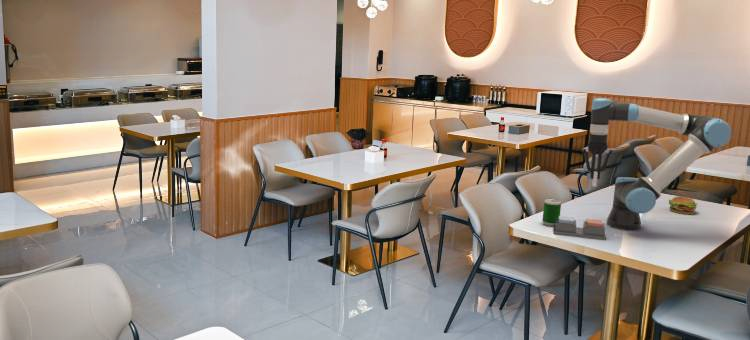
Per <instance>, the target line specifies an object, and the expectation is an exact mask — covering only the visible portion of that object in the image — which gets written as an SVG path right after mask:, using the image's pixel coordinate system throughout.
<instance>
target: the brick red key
mask: <svg viewBox="0 0 750 340" xmlns="http://www.w3.org/2000/svg"><path fill="white" fill-rule="evenodd" d="M585 221H586V226H594V227H603V220H600V219H594V218H593V219H591V218H586V220H585Z"/></svg>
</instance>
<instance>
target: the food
mask: <svg viewBox="0 0 750 340" xmlns="http://www.w3.org/2000/svg"><path fill="white" fill-rule="evenodd" d="M668 204H669V210H670V212H673V213H675V212H676V214H680V213H682V215H693V214H695V212H696V210H697V207H698V206H697V205H698V203H696V201H694V199H692V198H691V197H688V196H682V195H681V196H679V195H678V196H675V197H673V198H672V199H668Z"/></svg>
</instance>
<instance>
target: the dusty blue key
mask: <svg viewBox="0 0 750 340" xmlns="http://www.w3.org/2000/svg"><path fill="white" fill-rule="evenodd" d="M574 220H575V218H574V217H573V216H565V215H563V216H562V215H560V216H559V220H558V223H567V224H574Z"/></svg>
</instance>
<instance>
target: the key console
mask: <svg viewBox="0 0 750 340" xmlns="http://www.w3.org/2000/svg"><path fill="white" fill-rule="evenodd" d="M558 220H559V218H556V224H555V225H554V226H552V227H553V229H552V233H553V235H557V236H564V237H573V238H582V239H583V238H584V239H592V240H599V241H600V240H601V241H606V240H607V234H606V227H605V223H603V222H602V223H603V227H594V226H586V221H587V220H583V225H582V227H579V226H578V227H577V220H576V219H574V224H567V223H558Z"/></svg>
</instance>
